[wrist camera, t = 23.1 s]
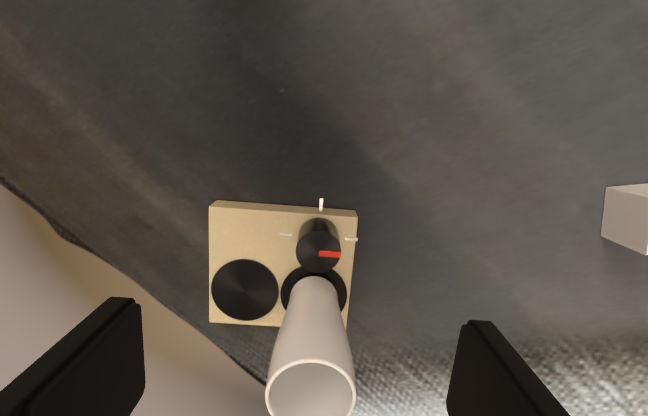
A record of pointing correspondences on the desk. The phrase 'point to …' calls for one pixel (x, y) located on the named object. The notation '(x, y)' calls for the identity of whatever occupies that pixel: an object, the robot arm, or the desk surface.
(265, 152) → the desk surface
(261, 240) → the hot plate
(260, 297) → the burner
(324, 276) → the burner
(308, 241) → the hob knob
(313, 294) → the drinking glass
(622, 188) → the white cube
